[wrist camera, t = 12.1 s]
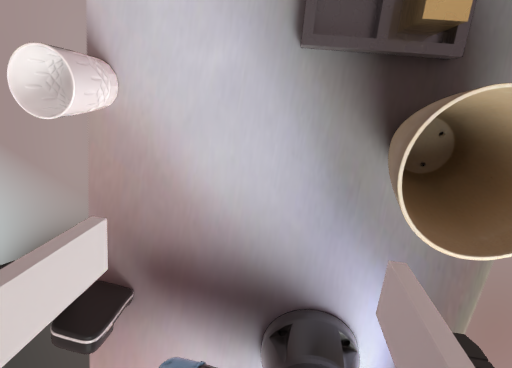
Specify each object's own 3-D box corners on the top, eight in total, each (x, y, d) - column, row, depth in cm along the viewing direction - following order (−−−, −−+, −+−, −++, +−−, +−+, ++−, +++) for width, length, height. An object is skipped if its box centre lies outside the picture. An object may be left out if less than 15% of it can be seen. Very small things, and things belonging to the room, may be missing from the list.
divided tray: (450, 59, 38) (462, 56, 35) (300, 47, 40) (301, 44, 37) (469, -22, 36) (484, -32, 33) (309, -31, 38) (310, -41, 35)
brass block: (433, 35, 37) (467, 21, 30) (397, 32, 38) (422, 18, 30) (441, -4, 36) (479, -29, 29) (404, -6, 37) (432, -31, 29)
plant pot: (350, 190, 44) (377, 243, 29) (378, 76, 40) (428, 69, 25) (463, 210, 43) (553, 276, 28) (504, 95, 39) (638, 99, 24)
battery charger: (94, 297, 55) (43, 349, 44) (95, 278, 53) (43, 326, 43) (133, 307, 54) (92, 362, 43) (135, 288, 53) (94, 340, 42)
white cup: (85, 121, 46) (29, 129, 37) (58, 66, 44) (-7, 59, 35) (132, 101, 44) (87, 104, 35) (107, 43, 43) (52, 29, 33)
